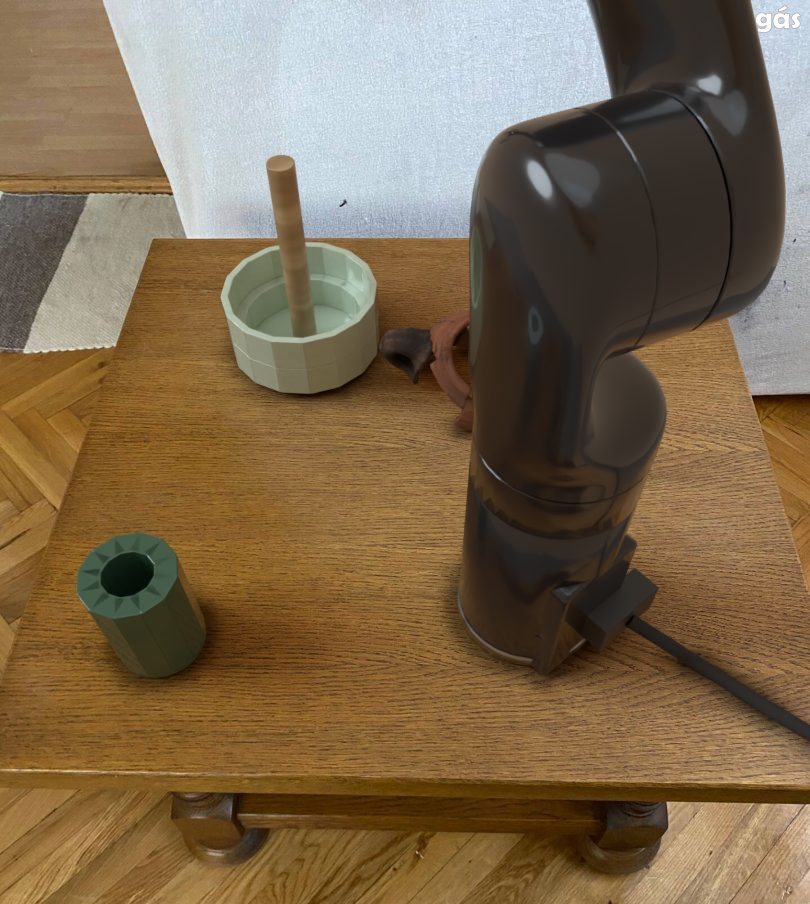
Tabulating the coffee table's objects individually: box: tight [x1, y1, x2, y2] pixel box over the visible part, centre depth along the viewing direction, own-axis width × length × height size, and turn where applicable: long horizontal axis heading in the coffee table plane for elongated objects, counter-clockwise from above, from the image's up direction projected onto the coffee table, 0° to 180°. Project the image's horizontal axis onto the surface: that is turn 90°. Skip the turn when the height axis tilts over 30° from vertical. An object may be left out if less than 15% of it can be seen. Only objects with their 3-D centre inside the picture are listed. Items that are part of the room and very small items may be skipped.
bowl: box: [220, 241, 380, 395], centre depth 67 cm, size 12×12×6 cm
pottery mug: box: [378, 309, 474, 431], centre depth 65 cm, size 12×10×8 cm
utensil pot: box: [76, 531, 207, 679], centre depth 51 cm, size 6×6×8 cm
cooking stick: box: [265, 154, 317, 338], centre depth 63 cm, size 2×2×16 cm
